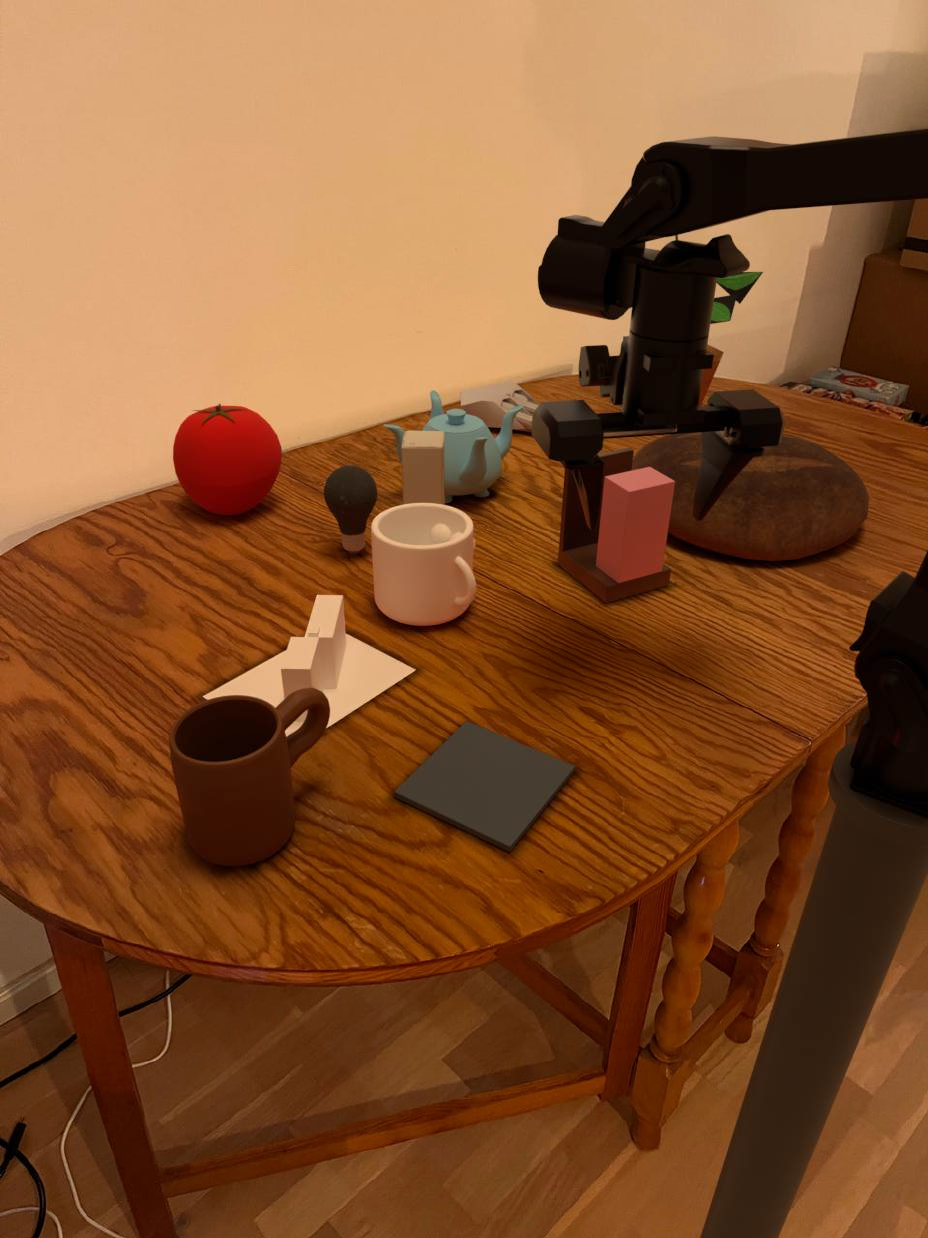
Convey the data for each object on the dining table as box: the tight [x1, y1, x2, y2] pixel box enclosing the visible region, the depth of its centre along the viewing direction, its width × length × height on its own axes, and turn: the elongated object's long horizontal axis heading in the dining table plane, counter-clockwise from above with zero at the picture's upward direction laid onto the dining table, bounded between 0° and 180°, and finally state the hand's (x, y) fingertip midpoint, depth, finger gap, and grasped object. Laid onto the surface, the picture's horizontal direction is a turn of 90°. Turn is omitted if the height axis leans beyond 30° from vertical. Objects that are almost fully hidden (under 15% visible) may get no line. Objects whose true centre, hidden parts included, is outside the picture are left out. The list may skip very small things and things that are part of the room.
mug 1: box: [168, 687, 330, 868], centre depth 64 cm, size 12×8×9 cm, turn 135°
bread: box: [632, 432, 870, 562], centre depth 108 cm, size 28×27×9 cm
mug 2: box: [370, 503, 477, 627], centre depth 88 cm, size 12×10×9 cm
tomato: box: [172, 403, 283, 516], centre depth 106 cm, size 12×12×13 cm
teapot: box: [382, 389, 524, 504], centre depth 112 cm, size 13×13×10 cm
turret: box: [459, 380, 540, 433], centre depth 132 cm, size 10×20×5 cm, turn 64°
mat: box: [393, 720, 576, 853], centre depth 69 cm, size 10×10×1 cm
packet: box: [596, 467, 675, 583], centre depth 91 cm, size 4×6×10 cm
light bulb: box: [323, 464, 378, 555], centre depth 98 cm, size 6×6×10 cm
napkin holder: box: [202, 594, 416, 737], centre depth 78 cm, size 15×11×6 cm
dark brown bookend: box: [557, 447, 672, 604], centre depth 93 cm, size 9×8×12 cm
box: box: [401, 429, 446, 505], centre depth 98 cm, size 5×4×13 cm
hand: (644, 523), depth 75 cm, fingers open, 9 cm apart
